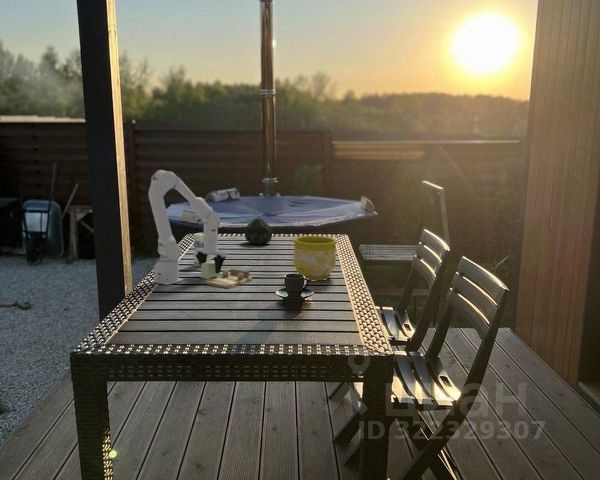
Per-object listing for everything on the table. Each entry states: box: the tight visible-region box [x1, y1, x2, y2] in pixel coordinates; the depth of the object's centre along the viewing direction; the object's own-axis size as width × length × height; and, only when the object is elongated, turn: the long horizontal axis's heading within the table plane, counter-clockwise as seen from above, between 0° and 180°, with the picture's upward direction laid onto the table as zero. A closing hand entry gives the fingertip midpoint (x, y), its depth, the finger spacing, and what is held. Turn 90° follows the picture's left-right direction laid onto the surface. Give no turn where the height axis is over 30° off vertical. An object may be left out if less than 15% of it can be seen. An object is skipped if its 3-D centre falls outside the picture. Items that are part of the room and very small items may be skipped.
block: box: [200, 259, 221, 280], centre depth 245 cm, size 8×4×6 cm, turn 149°
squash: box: [244, 218, 273, 246], centre depth 319 cm, size 14×15×15 cm
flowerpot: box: [293, 235, 338, 280], centre depth 246 cm, size 18×18×16 cm
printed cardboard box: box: [193, 232, 212, 267], centre depth 264 cm, size 6×6×14 cm
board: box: [205, 268, 253, 289], centre depth 236 cm, size 16×11×4 cm
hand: (210, 271), depth 245 cm, fingers open, 7 cm apart
